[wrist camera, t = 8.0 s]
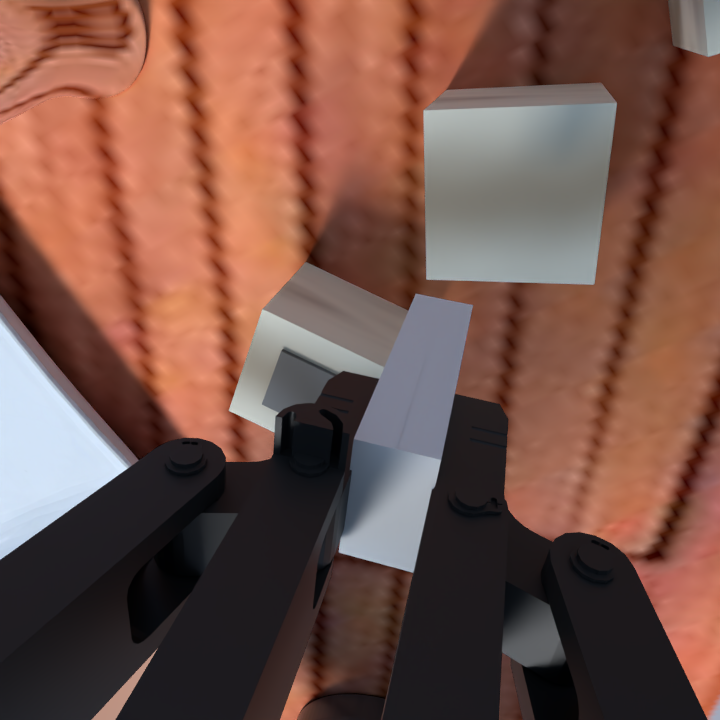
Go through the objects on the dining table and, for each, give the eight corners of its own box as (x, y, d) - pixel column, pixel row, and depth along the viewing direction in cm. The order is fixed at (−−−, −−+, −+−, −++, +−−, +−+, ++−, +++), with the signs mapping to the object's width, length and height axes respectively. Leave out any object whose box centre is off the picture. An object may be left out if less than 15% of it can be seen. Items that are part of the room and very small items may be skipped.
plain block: (584, 232, 27) (594, 284, 22) (446, 230, 28) (426, 279, 23) (600, 82, 24) (617, 102, 19) (446, 89, 25) (423, 110, 20)
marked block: (371, 399, 34) (341, 467, 29) (273, 352, 34) (227, 412, 29) (414, 312, 31) (389, 372, 26) (306, 261, 31) (260, 311, 26)
